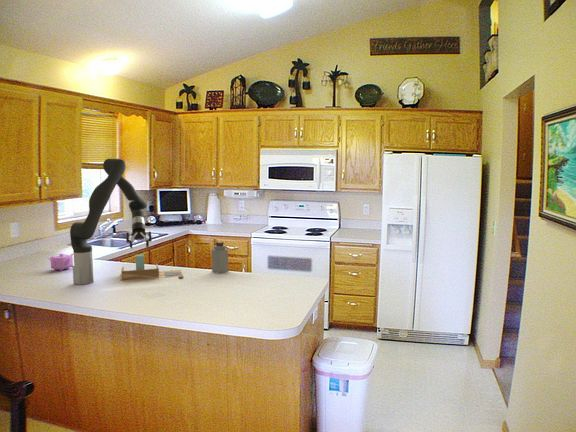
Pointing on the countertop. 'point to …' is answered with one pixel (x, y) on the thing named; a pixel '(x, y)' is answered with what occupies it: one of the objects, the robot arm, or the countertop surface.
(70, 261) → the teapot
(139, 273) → the stand
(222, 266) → the perfume bottle
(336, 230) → the countertop surface
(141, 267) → the block
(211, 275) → the countertop surface
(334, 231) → the countertop surface
